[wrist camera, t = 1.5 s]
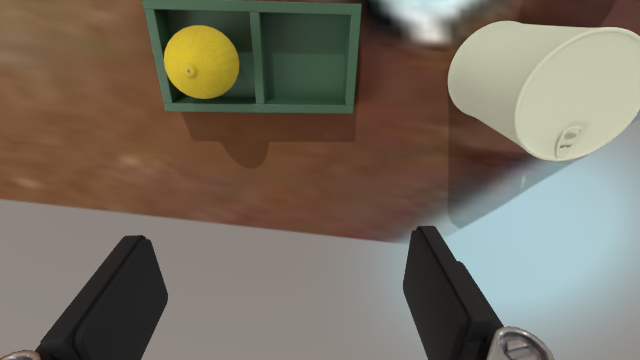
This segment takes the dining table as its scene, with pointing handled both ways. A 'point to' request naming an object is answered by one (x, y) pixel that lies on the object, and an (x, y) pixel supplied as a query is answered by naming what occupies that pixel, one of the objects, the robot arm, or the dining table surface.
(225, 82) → the lemon
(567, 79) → the can
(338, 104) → the holder
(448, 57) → the dining table surface
